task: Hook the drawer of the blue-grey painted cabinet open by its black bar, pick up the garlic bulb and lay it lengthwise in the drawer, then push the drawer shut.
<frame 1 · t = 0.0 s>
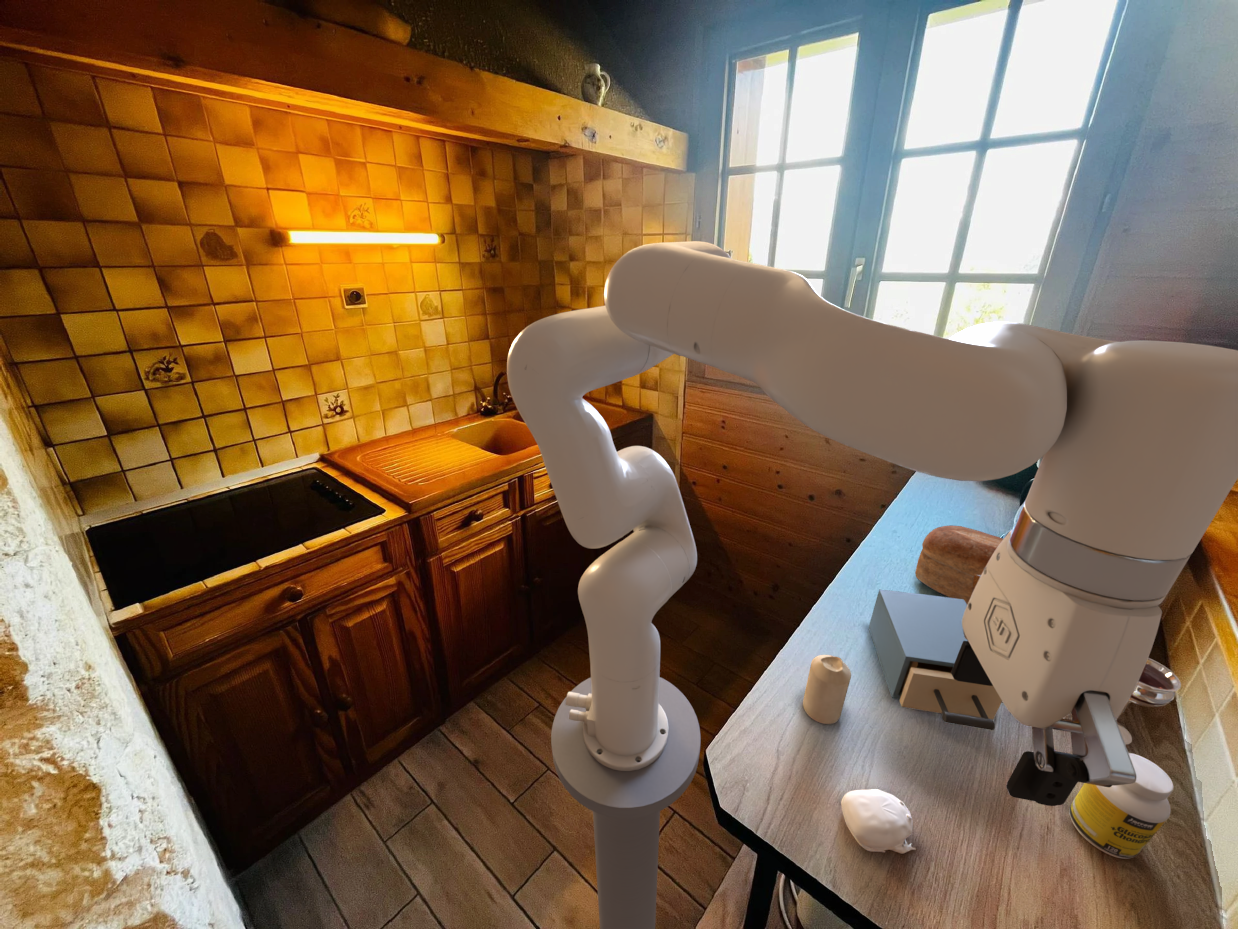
hand: (998, 732, 38), 32 cm above the table, tool pointing down, fingers open, 9 cm apart
cabinet: (922, 666, 83), on the table
pill bottle: (1100, 832, 60), on the table
garlic: (874, 826, 61), on the table
wineglass: (1108, 729, 72), on the table
drawer: (941, 672, 76), point 5 cm above the table, slide at 1.0 cm
candle: (821, 709, 76), on the table
bread: (998, 609, 95), on the table
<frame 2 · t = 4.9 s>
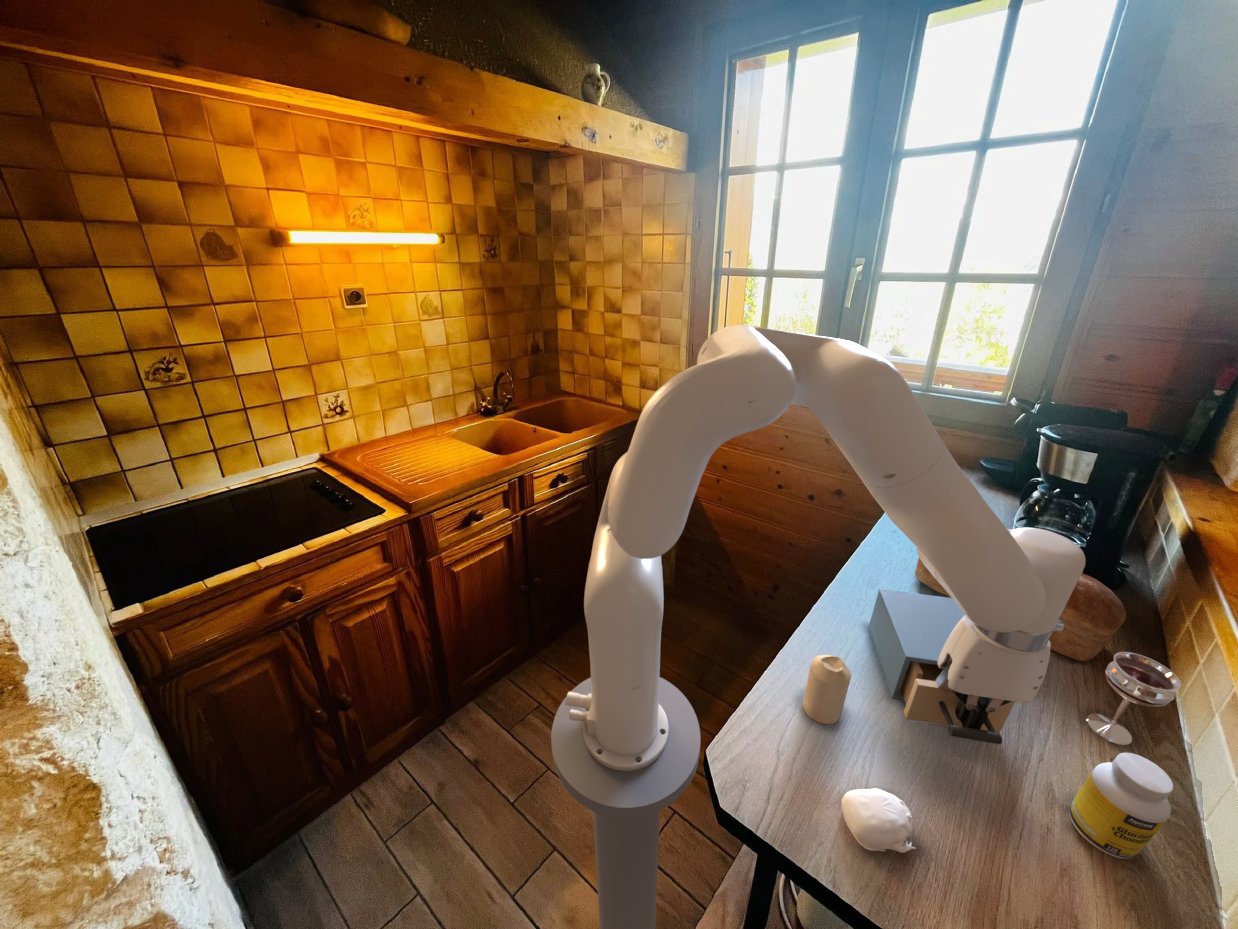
hand: (966, 722, 68), 5 cm above the table, tool pointing down, fingers closed
drawer: (946, 683, 74), point 5 cm above the table, slide at 3.1 cm, touching gripper
everything else where it was.
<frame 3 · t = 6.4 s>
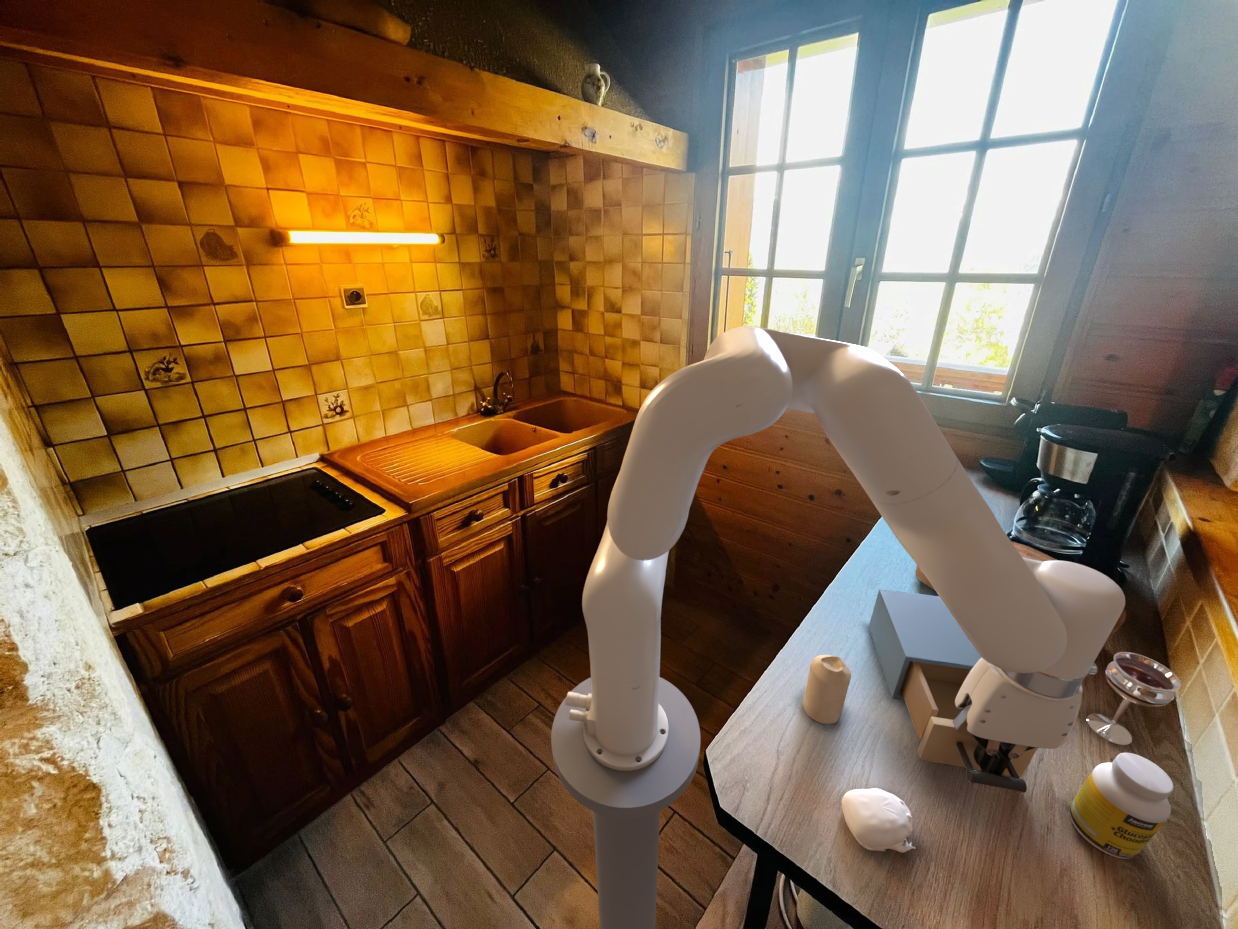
hand: (986, 766, 63), 5 cm above the table, tool pointing down, fingers closed
drawer: (963, 720, 69), point 5 cm above the table, slide at 9.4 cm, touching gripper
everything else where it was.
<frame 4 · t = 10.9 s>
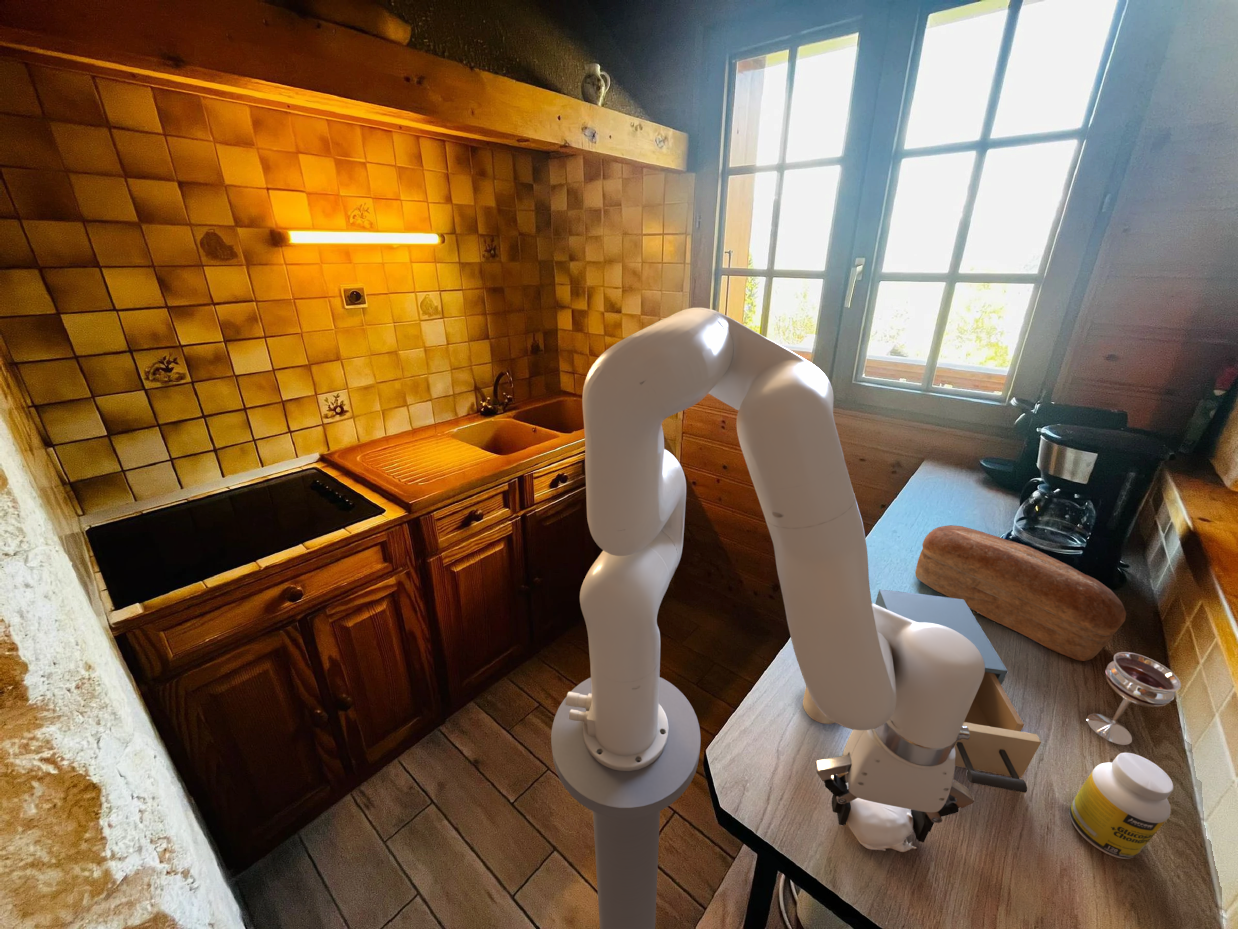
hand: (877, 820, 60), 1 cm above the table, tool pointing down, fingers closed on garlic, 8 cm apart
garlic: (875, 825, 61), on the table, touching gripper
drawer: (963, 720, 69), point 5 cm above the table, slide at 9.4 cm
everything else where it was.
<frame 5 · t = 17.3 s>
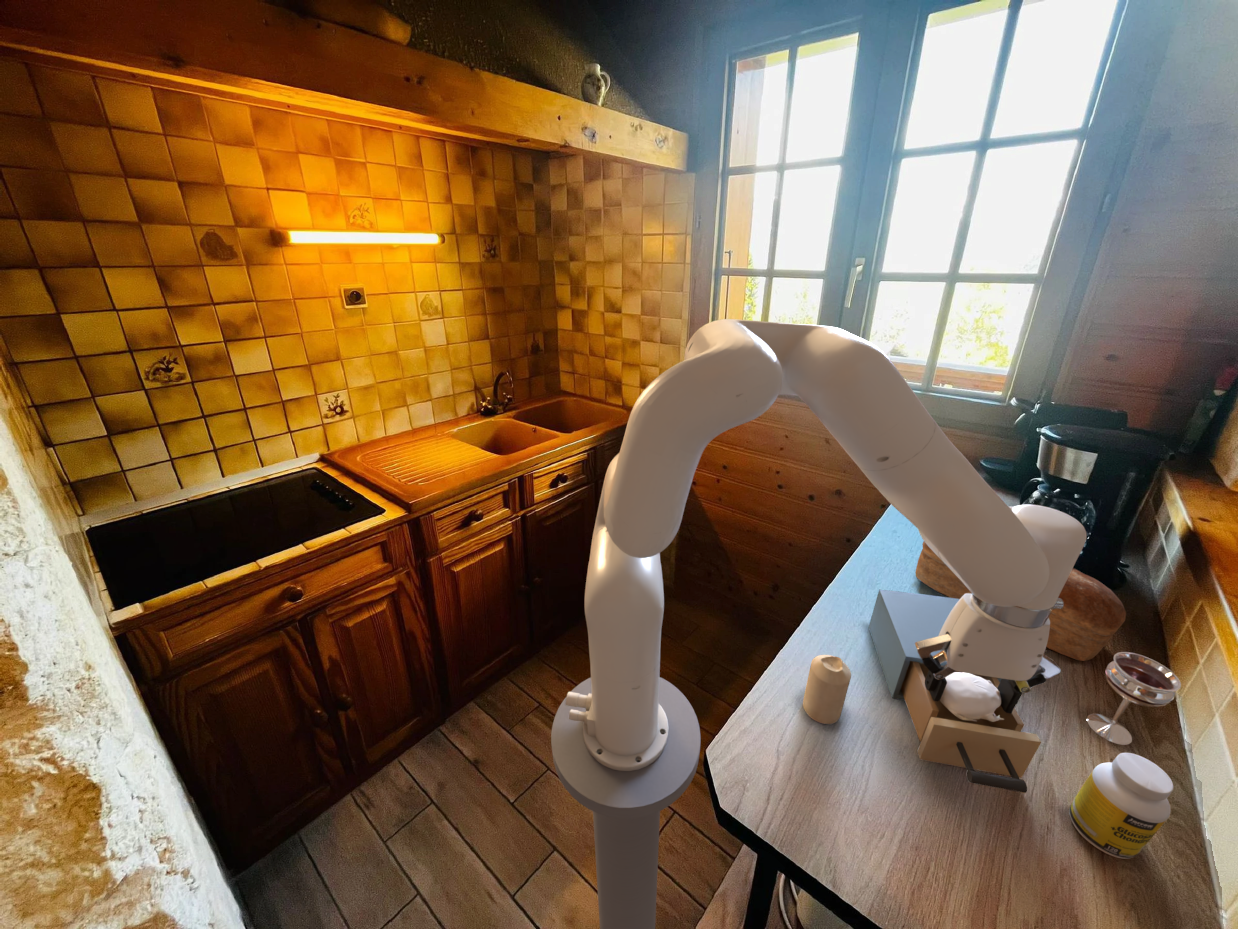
hand: (967, 698, 68), 8 cm above the table, tool pointing down, fingers closed on garlic, 8 cm apart
garlic: (964, 703, 69), point 7 cm above the table, touching gripper
everything else where it was.
when the fingers open (10 cm above the table, at t = 37.8 s): garlic drops 7 cm, resting on drawer.
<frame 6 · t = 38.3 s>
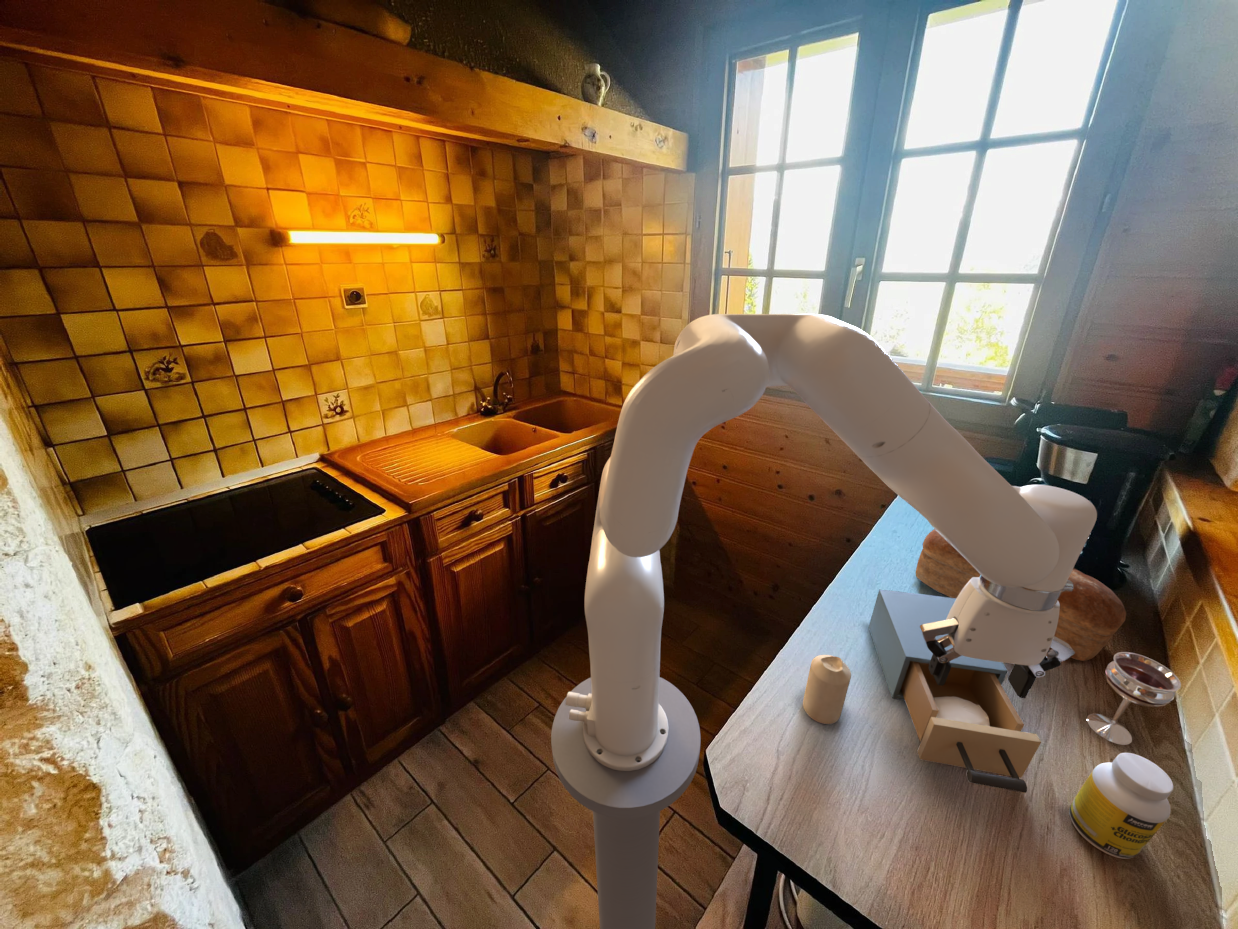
hand: (975, 683, 67), 11 cm above the table, tool pointing down, fingers open, 9 cm apart
garlic: (954, 727, 71), point 2 cm above the table, touching drawer
drawer: (963, 720, 69), point 5 cm above the table, slide at 9.4 cm, touching garlic
everything else where it was.
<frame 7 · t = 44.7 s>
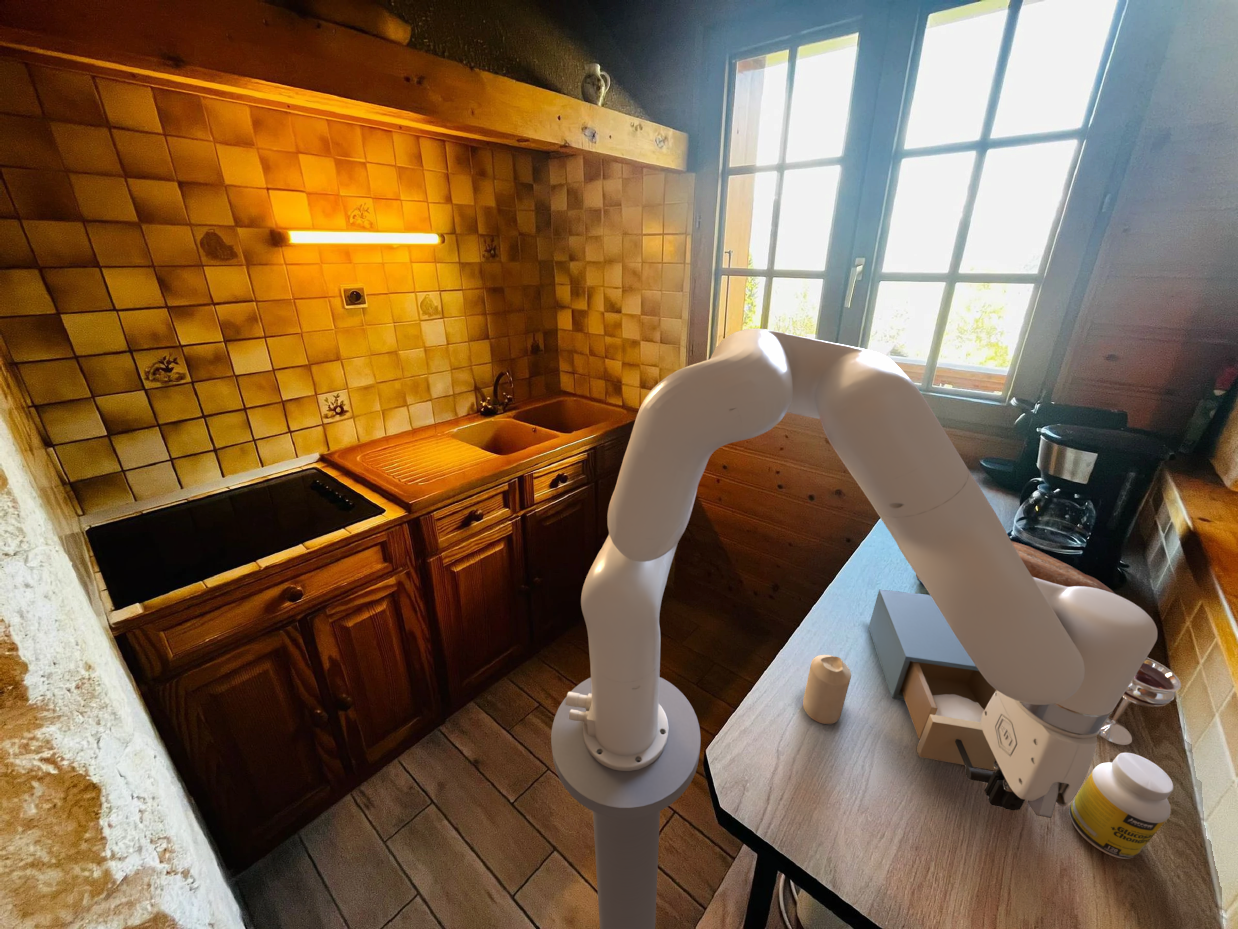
hand: (1001, 800, 59), 5 cm above the table, tool pointing down, fingers closed
drawer: (962, 717, 69), point 5 cm above the table, slide at 9.0 cm, touching garlic, gripper
everything else where it was.
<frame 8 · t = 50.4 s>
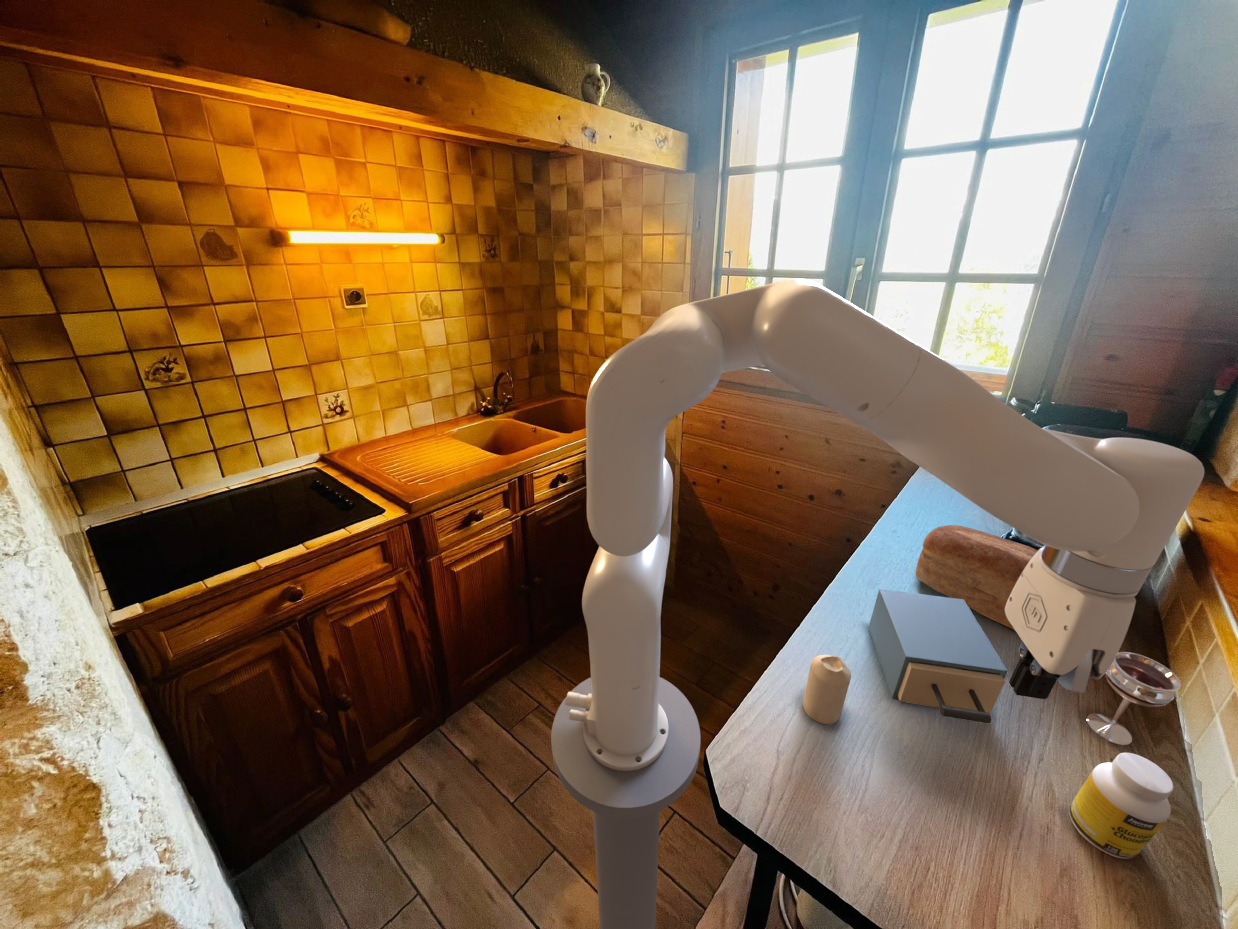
hand: (1026, 691, 56), 19 cm above the table, tool pointing down, fingers closed
garlic: (931, 674, 79), point 2 cm above the table, touching drawer
drawer: (939, 667, 77), point 5 cm above the table, slide at 0.0 cm, touching cabinet, garlic
everything else where it was.
at the end: drawer pulled out 9.4 cm at the most during the clip, back to where it started at the end; garlic inside the target area in the cabinet (3.4 cm from its centre), point 1.8 cm above the cabinet's base; drawer slide at 0.0 cm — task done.
